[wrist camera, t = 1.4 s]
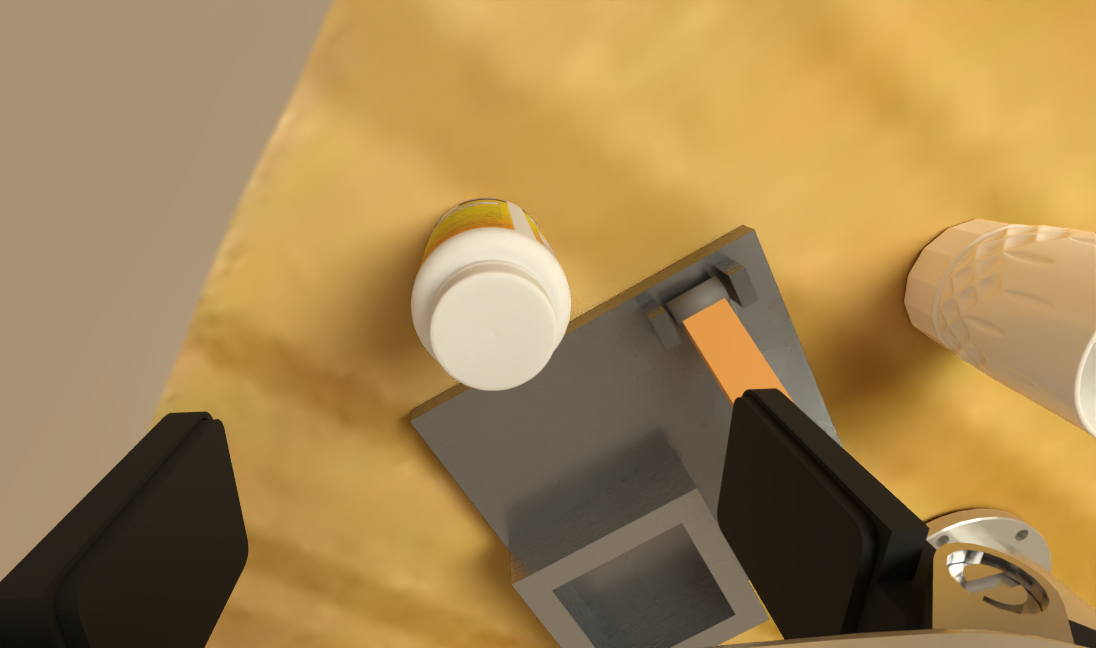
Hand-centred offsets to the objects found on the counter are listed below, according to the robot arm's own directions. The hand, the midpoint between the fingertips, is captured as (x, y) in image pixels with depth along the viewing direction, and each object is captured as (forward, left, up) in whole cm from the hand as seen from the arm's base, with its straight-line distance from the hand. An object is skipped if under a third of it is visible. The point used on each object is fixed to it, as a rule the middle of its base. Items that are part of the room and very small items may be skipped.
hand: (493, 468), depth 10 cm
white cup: (-14, -21, -18) cm, 31 cm away
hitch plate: (-15, -2, -17) cm, 23 cm away
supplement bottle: (0, 0, -18) cm, 18 cm away
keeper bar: (-11, -8, -13) cm, 18 cm away
